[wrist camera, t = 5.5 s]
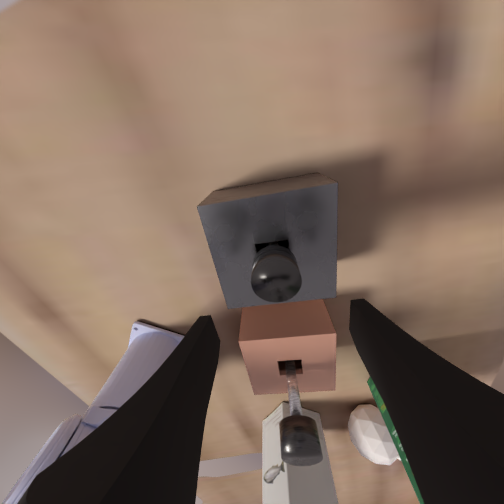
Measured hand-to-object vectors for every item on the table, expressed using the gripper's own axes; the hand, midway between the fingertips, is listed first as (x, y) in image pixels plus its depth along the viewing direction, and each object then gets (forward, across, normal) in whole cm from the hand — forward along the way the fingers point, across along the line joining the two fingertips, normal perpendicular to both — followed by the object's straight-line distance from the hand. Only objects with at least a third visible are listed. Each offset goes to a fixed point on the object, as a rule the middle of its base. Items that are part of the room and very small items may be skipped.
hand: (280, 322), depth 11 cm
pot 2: (+10, 0, +12) cm, 16 cm away
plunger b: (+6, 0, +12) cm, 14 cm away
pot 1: (+10, 0, -1) cm, 10 cm away
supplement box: (+11, +1, +33) cm, 35 cm away
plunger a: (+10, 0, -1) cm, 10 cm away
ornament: (+11, -10, +32) cm, 35 cm away
